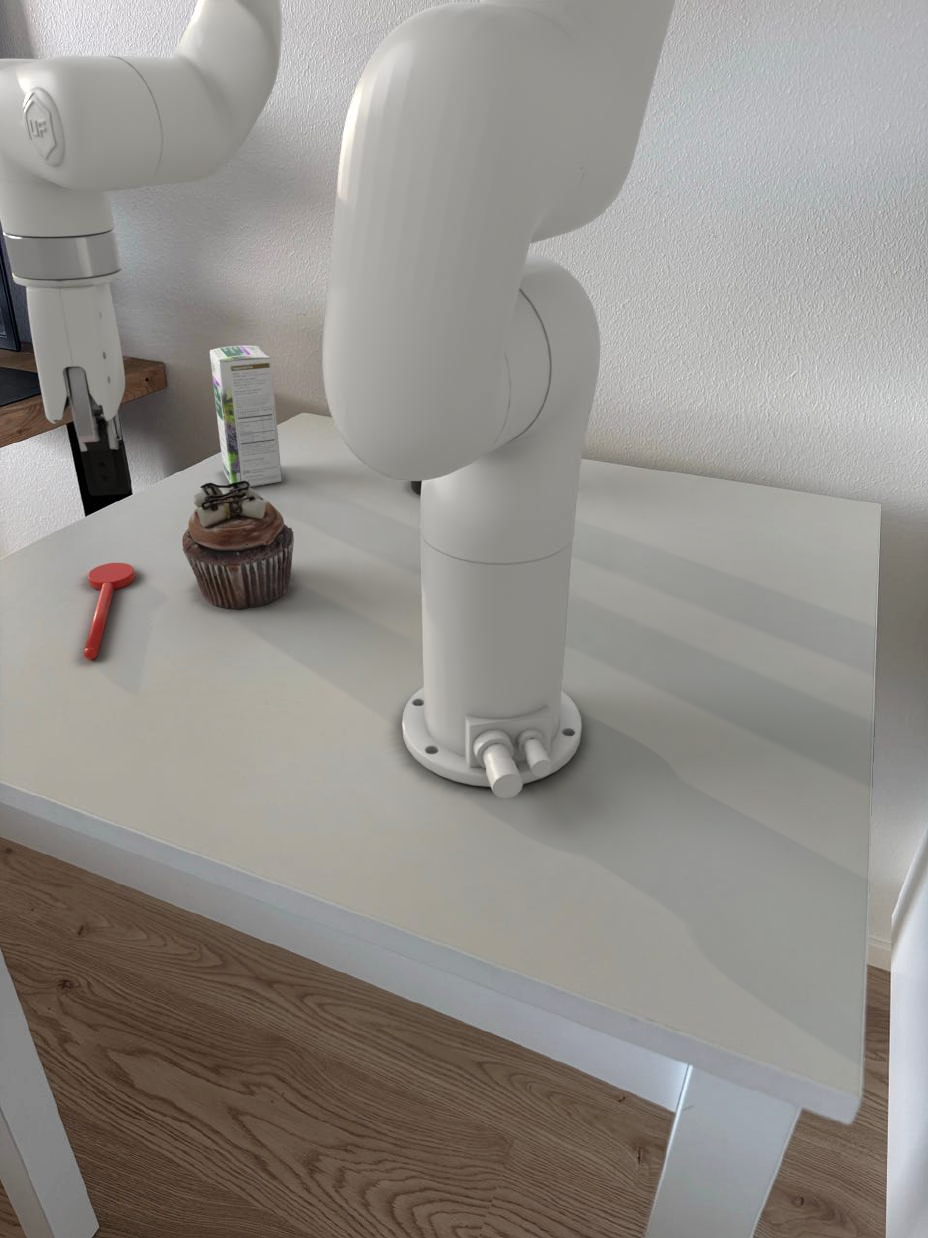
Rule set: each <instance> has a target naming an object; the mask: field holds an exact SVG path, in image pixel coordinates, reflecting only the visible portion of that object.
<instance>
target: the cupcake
mask: <svg viewBox="0 0 928 1238" xmlns="http://www.w3.org/2000/svg"><path fill="white" fill-rule="evenodd" d="M249 486H250V484H249V482H247V481H240V482H234V483H232V484H231V483H229V484H227V485H225V484H221V485H220V484H216V483H213V482H206V483H204V484H202V485H201V486H199V488H200V489H199V490H198V491H195V493H193V504H194V505H195V507H196V508H195V509H194V510H193V511H192V513H191V515H190V517H189V520H188V527H187V529H186V530H185V532H184V533H183V535H182V541H181V543H182V552H183V554H184V556H185V557H186V560H187V562H188V564H189V566H190V567H191V570H192V572H193V574H194V576H195V579H196V582H197V585H198V588H199V590H200V593H201V595H202V597H204V599H205V600H206V601H207V602H208V603H210V604H211V605H212V606H215V607H219V608H221V609H228V610H230V609H234V610H245V609H248V608H258V607H261V606H266V605H269V604H271V603H273V602H274V601H277V600H279V599H280V598H282V596H283V595H285V594H286V592H287V591H288V590H289V586H290V583H291V577H292V576H291V575H292V565H293V552H294V545H295V544H294V543H295V537H294V531H293V528H292V527H288V525H286V524H285V521H284V517H283V515H282V514H281V512H280V511H279V510H278V509H277V508H276V506H275V505H273V504H272V503H271V502H270V501H269V500H267V499H265V498H263V497H262V496H261V494H260V493H259V492H258V491H256V490H255V489H253V488H251V487H249ZM230 488H232V489H230ZM222 489H229V490H228V492H226V493H223V492H222Z"/></svg>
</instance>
